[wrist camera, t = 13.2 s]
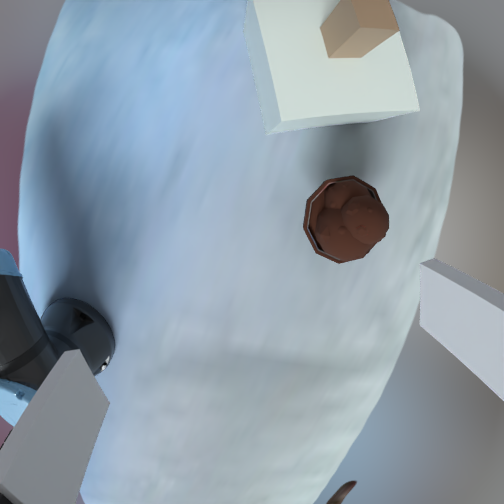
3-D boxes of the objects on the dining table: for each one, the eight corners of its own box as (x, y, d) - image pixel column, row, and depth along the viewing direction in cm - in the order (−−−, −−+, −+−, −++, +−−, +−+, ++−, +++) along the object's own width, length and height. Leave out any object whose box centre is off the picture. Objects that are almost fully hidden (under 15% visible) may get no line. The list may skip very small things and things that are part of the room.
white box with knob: (265, 134, 42) (301, 104, 21) (243, 31, 38) (256, -58, 16) (372, 122, 43) (468, 101, 21) (348, 26, 38) (417, -41, 16)
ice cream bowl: (306, 161, 44) (343, 159, 29) (368, 194, 46) (421, 208, 31) (276, 225, 46) (298, 253, 32) (338, 254, 48) (380, 290, 34)
